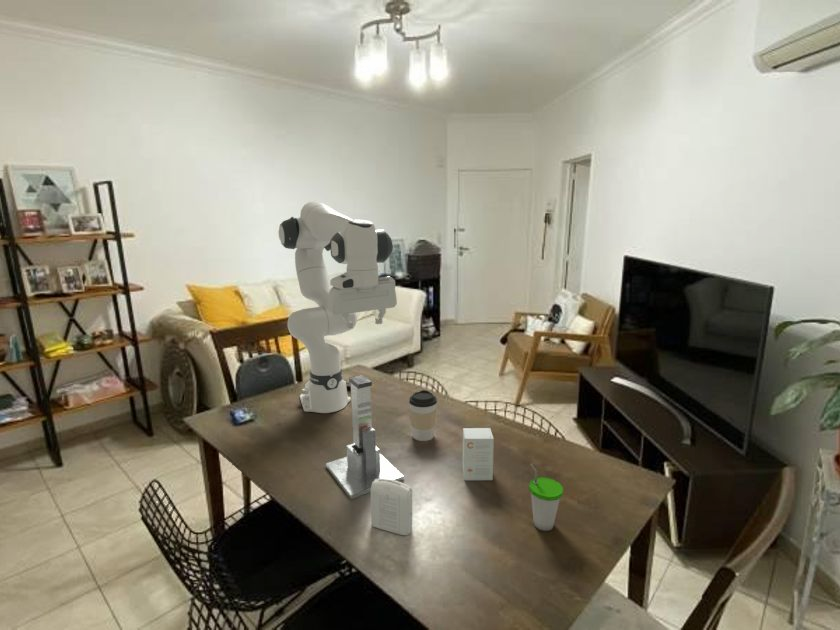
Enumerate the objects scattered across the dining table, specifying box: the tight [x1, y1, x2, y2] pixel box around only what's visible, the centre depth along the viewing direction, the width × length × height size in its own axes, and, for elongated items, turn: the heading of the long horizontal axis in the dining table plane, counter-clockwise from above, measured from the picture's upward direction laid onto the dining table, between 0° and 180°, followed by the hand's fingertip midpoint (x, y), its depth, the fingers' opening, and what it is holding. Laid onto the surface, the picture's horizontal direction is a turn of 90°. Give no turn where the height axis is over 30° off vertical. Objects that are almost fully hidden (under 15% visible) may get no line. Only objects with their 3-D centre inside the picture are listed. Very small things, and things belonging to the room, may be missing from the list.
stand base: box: [325, 427, 405, 500], centre depth 128 cm, size 18×16×16 cm
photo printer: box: [370, 479, 413, 536], centre depth 107 cm, size 10×4×12 cm, turn 69°
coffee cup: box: [408, 389, 438, 442], centre depth 149 cm, size 9×9×15 cm
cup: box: [528, 462, 564, 532], centre depth 107 cm, size 8×8×15 cm
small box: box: [462, 427, 495, 481], centre depth 127 cm, size 8×6×13 cm
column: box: [348, 374, 373, 448], centre depth 125 cm, size 6×4×19 cm, turn 32°
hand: (364, 326), depth 131 cm, fingers open, 8 cm apart
